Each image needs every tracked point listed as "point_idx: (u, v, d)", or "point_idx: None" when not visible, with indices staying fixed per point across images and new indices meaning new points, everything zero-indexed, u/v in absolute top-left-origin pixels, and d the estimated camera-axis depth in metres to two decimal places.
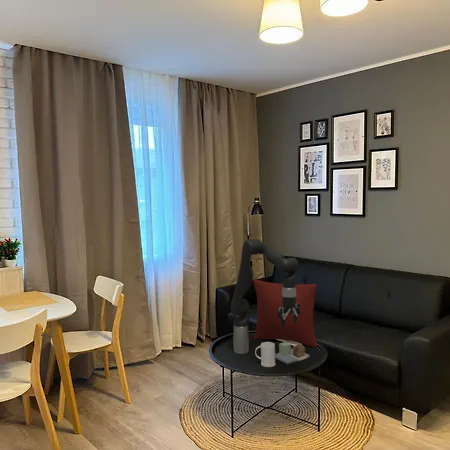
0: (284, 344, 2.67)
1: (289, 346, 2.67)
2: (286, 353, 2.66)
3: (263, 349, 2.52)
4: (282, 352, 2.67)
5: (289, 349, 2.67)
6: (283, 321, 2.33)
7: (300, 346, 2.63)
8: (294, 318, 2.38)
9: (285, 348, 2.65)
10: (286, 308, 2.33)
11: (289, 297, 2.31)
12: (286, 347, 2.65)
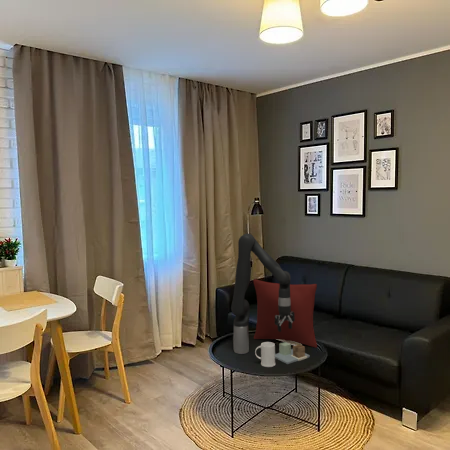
0: (284, 344, 2.67)
1: (289, 346, 2.67)
2: (286, 353, 2.66)
3: (263, 349, 2.52)
4: (282, 352, 2.67)
5: (289, 349, 2.67)
6: (279, 327, 2.63)
7: (300, 346, 2.63)
8: (289, 324, 2.69)
9: (285, 348, 2.65)
10: (282, 316, 2.64)
11: (284, 306, 2.62)
12: (286, 347, 2.65)
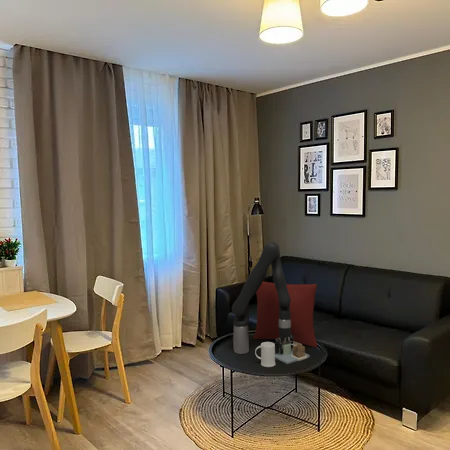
0: (284, 344, 2.67)
1: (289, 346, 2.67)
2: (286, 353, 2.66)
3: (263, 349, 2.52)
4: None
5: (289, 349, 2.67)
6: (281, 349, 2.66)
7: (300, 346, 2.63)
8: None
9: (285, 348, 2.65)
10: (282, 338, 2.65)
11: (284, 328, 2.63)
12: (286, 347, 2.65)
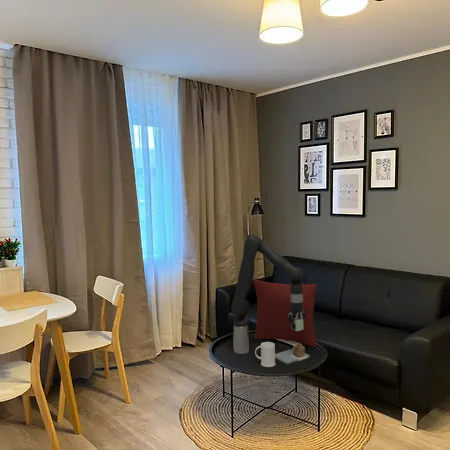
0: None
1: (301, 321, 2.61)
2: (299, 328, 2.60)
3: (263, 349, 2.52)
4: None
5: (301, 324, 2.61)
6: (294, 325, 2.60)
7: (300, 346, 2.63)
8: None
9: (297, 323, 2.59)
10: (294, 313, 2.59)
11: (296, 302, 2.58)
12: (298, 322, 2.60)
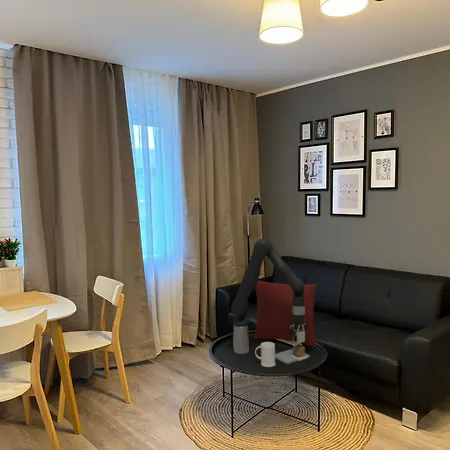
0: (298, 331, 2.62)
1: (303, 333, 2.61)
2: (300, 340, 2.60)
3: (263, 349, 2.52)
4: None
5: (303, 336, 2.61)
6: (295, 337, 2.60)
7: (300, 346, 2.63)
8: None
9: (299, 335, 2.60)
10: (296, 325, 2.59)
11: (298, 314, 2.58)
12: (300, 334, 2.60)
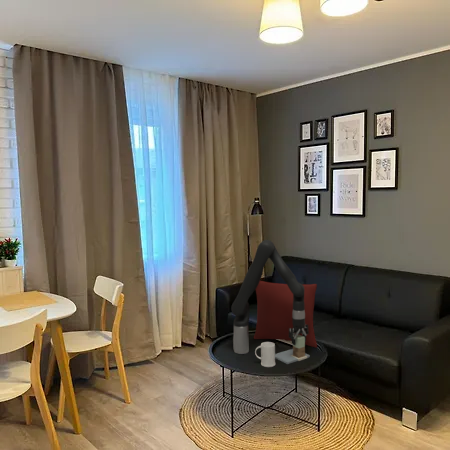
0: (298, 337, 2.62)
1: (303, 339, 2.62)
2: (300, 346, 2.61)
3: (263, 349, 2.52)
4: (296, 345, 2.62)
5: (303, 341, 2.62)
6: (293, 340, 2.60)
7: None
8: None
9: (299, 341, 2.60)
10: (296, 329, 2.60)
11: (298, 319, 2.58)
12: (300, 340, 2.60)
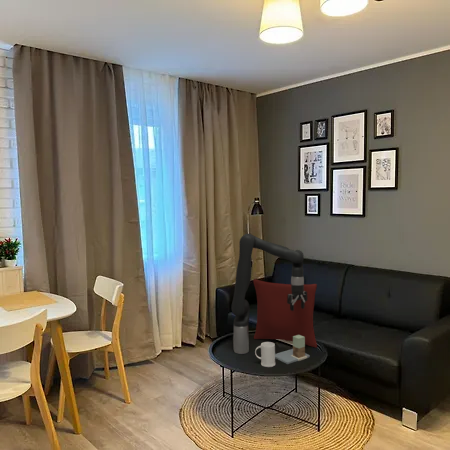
0: (298, 337, 2.62)
1: (303, 339, 2.62)
2: (300, 346, 2.61)
3: (263, 349, 2.52)
4: (296, 345, 2.62)
5: (303, 341, 2.62)
6: (292, 306, 2.62)
7: None
8: (302, 304, 2.67)
9: (299, 341, 2.60)
10: (295, 295, 2.62)
11: (297, 285, 2.60)
12: (300, 340, 2.60)
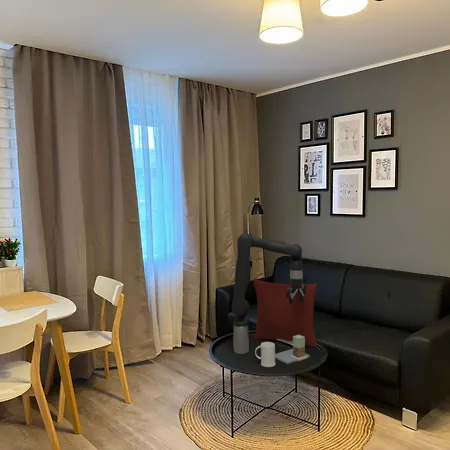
0: (298, 337, 2.62)
1: (303, 339, 2.62)
2: (300, 346, 2.61)
3: (263, 349, 2.52)
4: (296, 345, 2.62)
5: (303, 341, 2.62)
6: (291, 300, 2.63)
7: None
8: (301, 298, 2.69)
9: (299, 341, 2.60)
10: (294, 288, 2.64)
11: (296, 278, 2.62)
12: (300, 340, 2.60)
